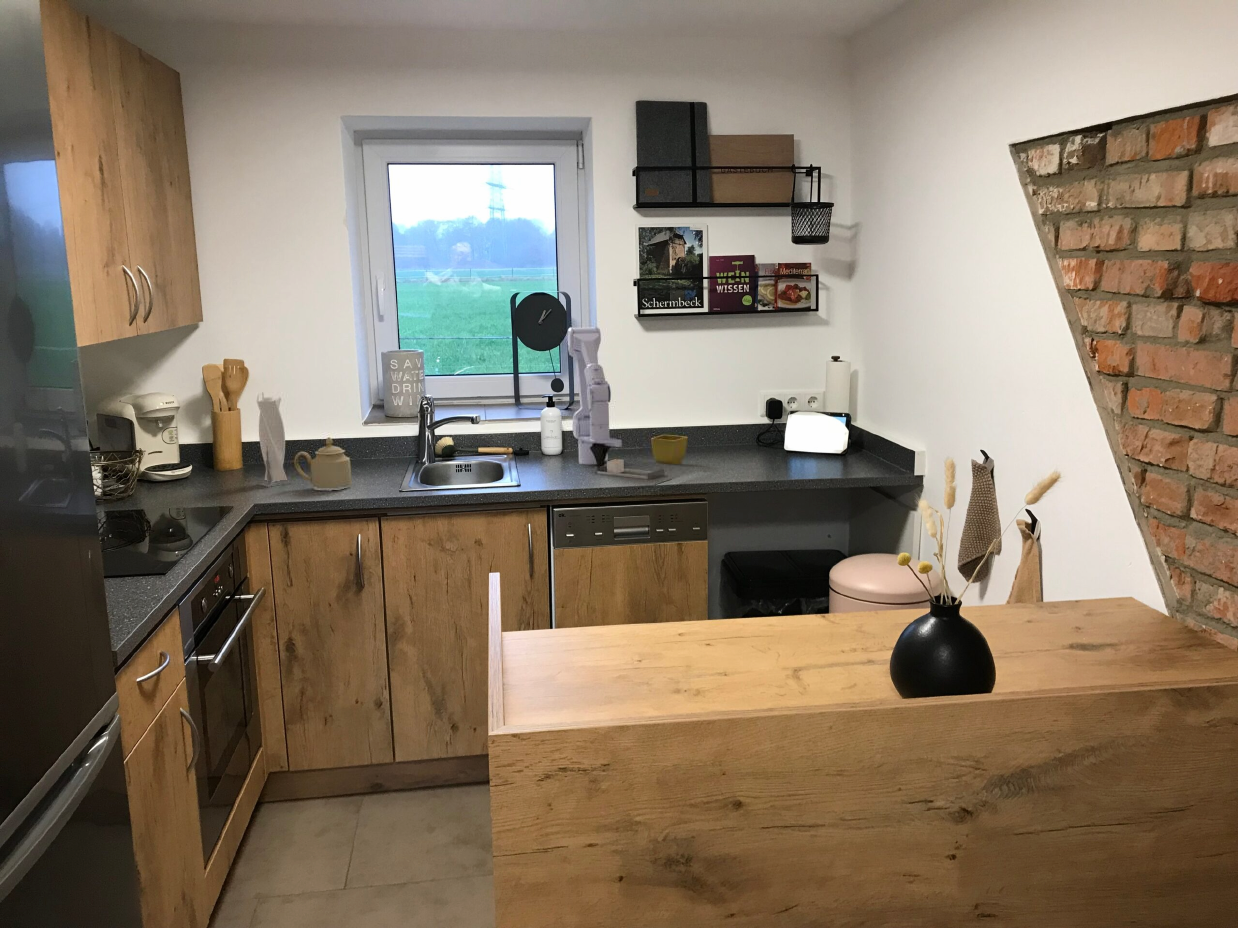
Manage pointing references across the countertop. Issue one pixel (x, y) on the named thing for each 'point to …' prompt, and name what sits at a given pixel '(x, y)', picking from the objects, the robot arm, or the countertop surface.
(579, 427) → the robot arm
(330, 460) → the sugar bowl
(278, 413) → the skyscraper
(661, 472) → the fader console
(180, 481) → the countertop surface
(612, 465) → the fader knob
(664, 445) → the flower pot
